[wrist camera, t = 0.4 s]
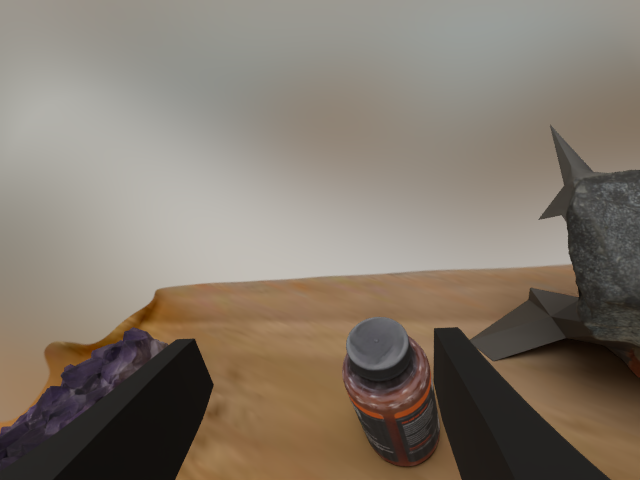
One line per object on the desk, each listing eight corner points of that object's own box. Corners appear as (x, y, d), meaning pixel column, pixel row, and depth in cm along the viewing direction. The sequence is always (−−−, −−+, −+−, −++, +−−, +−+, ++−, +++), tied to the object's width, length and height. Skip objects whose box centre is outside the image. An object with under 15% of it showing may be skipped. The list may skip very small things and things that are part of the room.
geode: (145, 351, 42) (107, 299, 36) (211, 374, 37) (178, 320, 32) (-39, 543, 27) (-153, 505, 21) (33, 621, 22) (-87, 599, 17)
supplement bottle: (449, 408, 25) (439, 316, 19) (428, 486, 21) (408, 404, 15) (382, 381, 29) (356, 297, 23) (354, 445, 25) (314, 364, 19)
